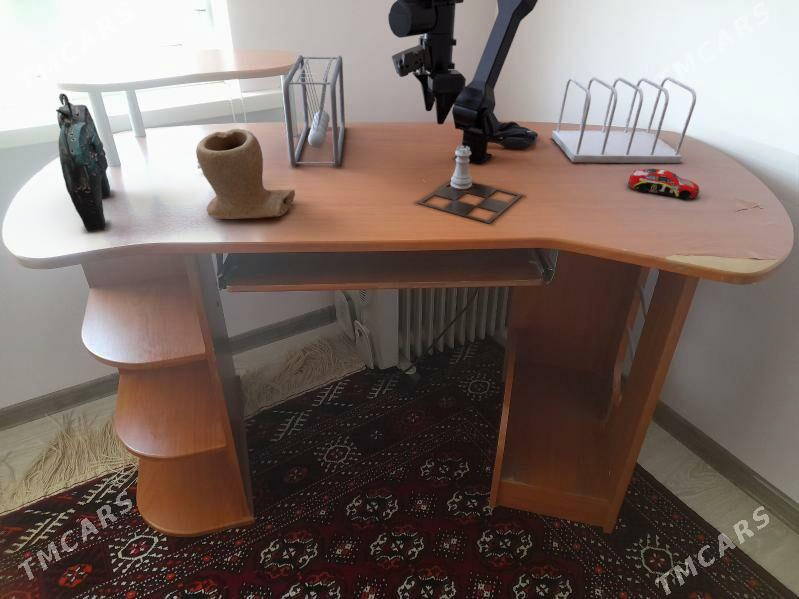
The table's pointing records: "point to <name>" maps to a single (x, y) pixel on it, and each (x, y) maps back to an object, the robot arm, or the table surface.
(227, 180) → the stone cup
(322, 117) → the newton's cradle
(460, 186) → the rook chess piece
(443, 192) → the chessboard
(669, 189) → the race car
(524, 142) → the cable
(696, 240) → the table surface
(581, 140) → the file sorter
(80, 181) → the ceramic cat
